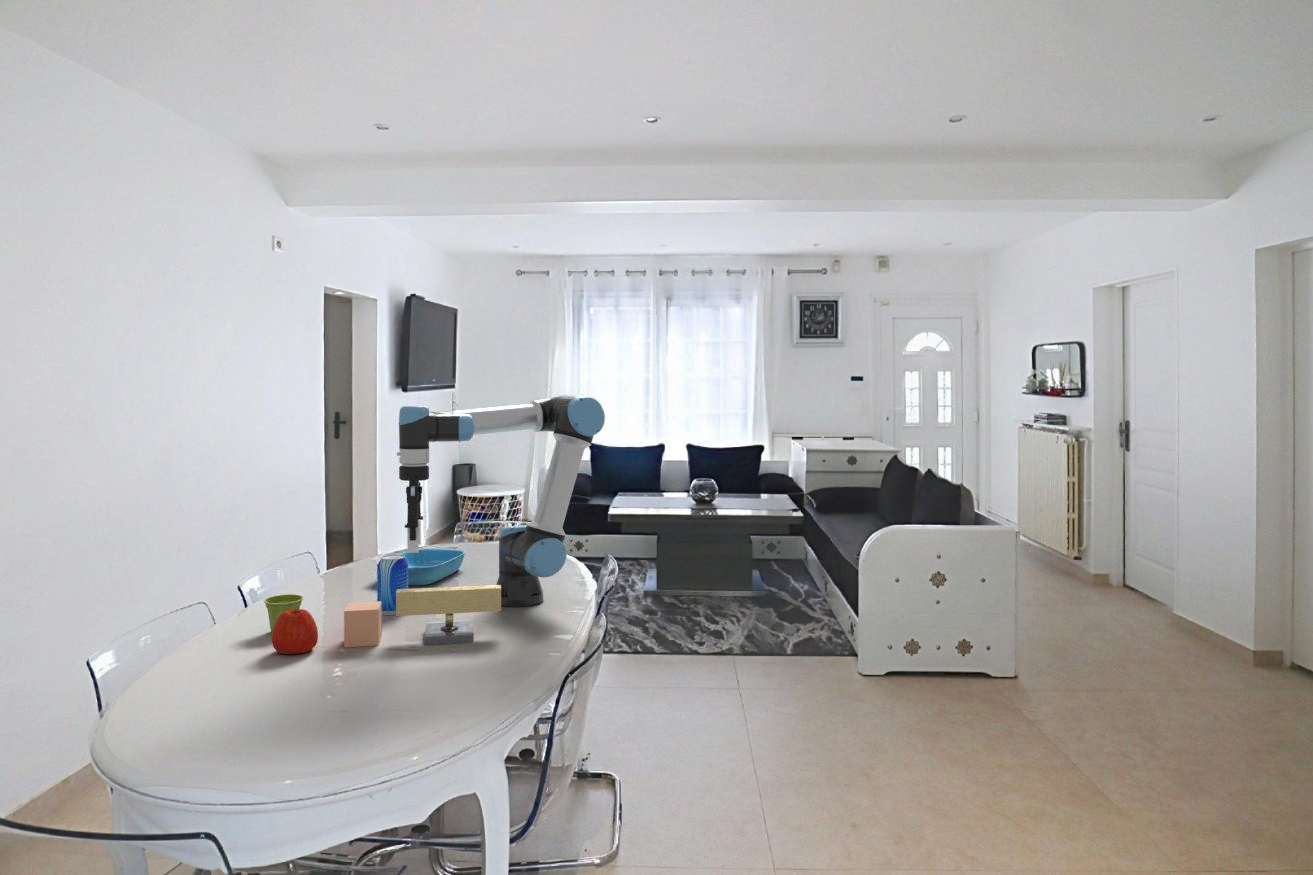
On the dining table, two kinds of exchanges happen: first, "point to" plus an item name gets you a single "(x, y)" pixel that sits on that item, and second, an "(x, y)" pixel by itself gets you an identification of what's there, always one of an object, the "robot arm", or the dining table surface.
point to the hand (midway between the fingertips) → (414, 548)
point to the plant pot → (281, 606)
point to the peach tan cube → (362, 624)
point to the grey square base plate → (449, 633)
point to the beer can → (391, 581)
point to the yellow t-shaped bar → (448, 601)
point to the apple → (294, 632)
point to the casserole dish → (432, 564)
